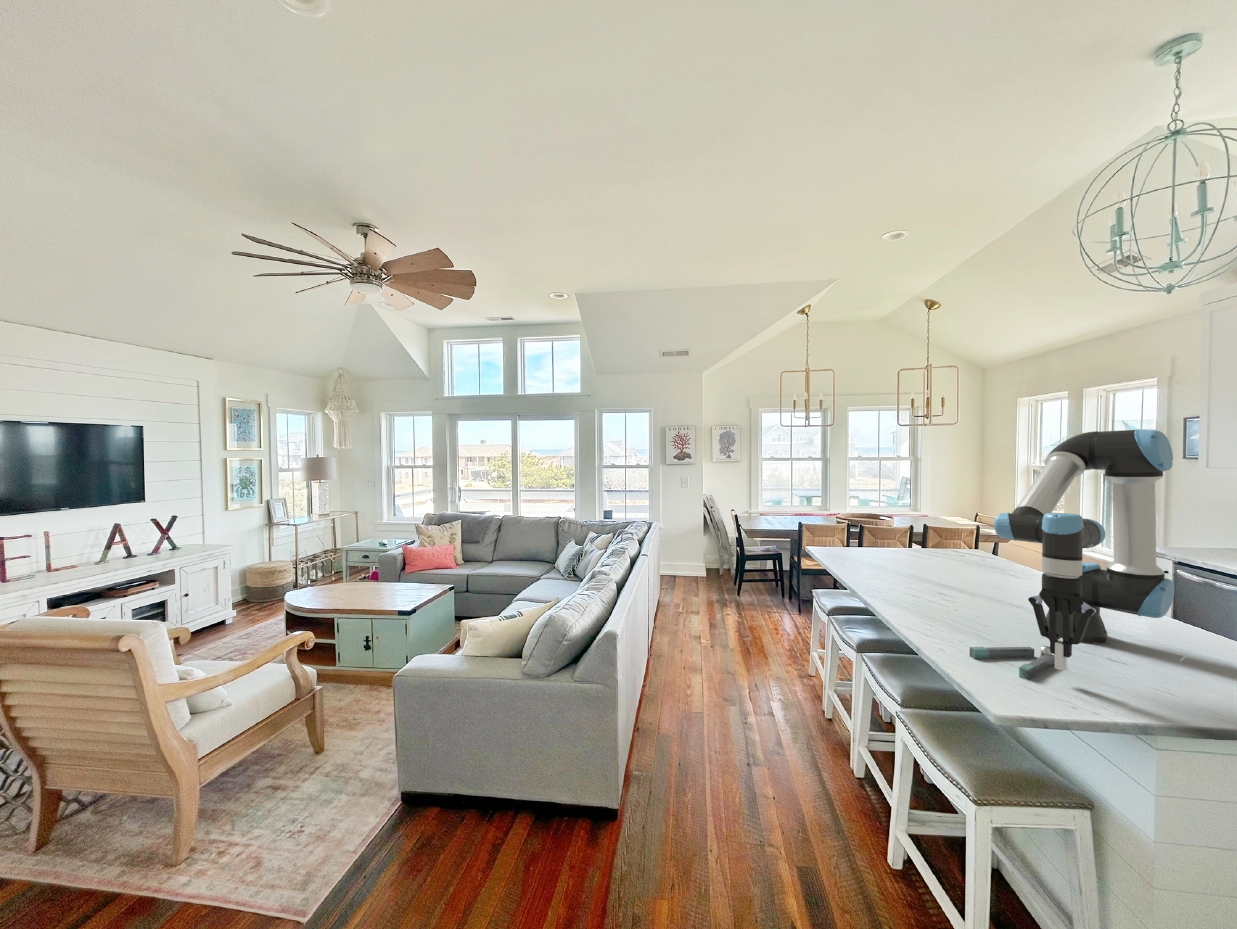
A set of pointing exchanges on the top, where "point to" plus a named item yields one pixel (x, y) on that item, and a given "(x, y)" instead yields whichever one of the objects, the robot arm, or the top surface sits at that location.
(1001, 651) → the arm
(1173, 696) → the top surface
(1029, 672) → the tongs free arm
